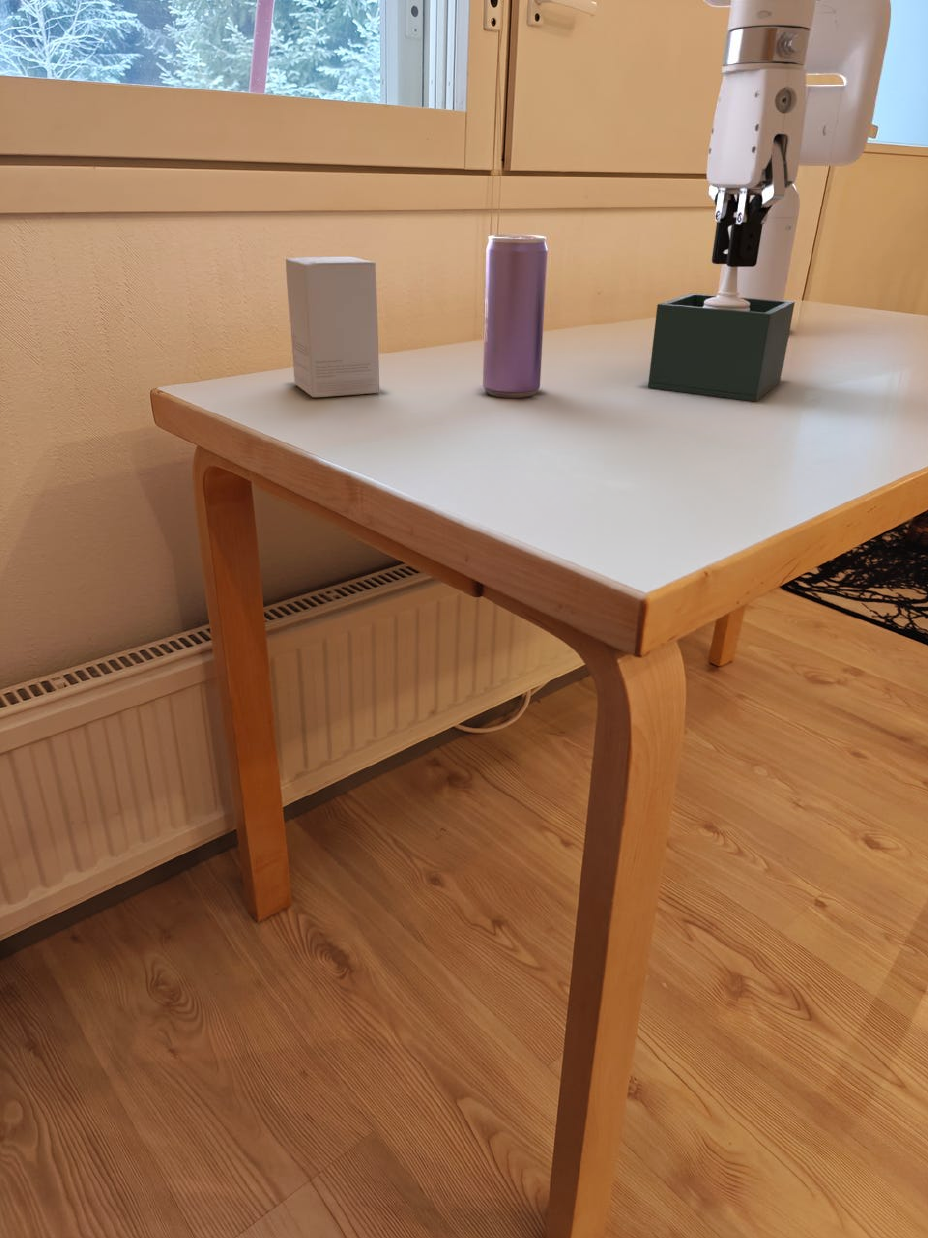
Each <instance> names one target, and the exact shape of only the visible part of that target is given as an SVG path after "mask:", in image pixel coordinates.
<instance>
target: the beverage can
mask: <svg viewBox="0 0 928 1238" xmlns="http://www.w3.org/2000/svg"><path fill="white" fill-rule="evenodd" d="M548 250H549V249H548V246H547V237H546V236H544V235H535V234H534V235H532V234H491V235H489V236H488V242H487V246H486V250H485V251H486V254H485V255H486V256H485V287H484V288H485V289H484V330H483V364H482V365H483V366H482V368H483V369H482V386H483V388H484V390H485V392H486V394H488V395H489V396H492V397H497V398H506V399H521V398H522V399H524V398H530V397H533V396H535V395H537V392H538V391H539V389H540V387H541V377H542V376H541V375H542V374H541V373H542V356H543V340H544V325H545V323H544V322H545V321H544V320H545V305H546V303H545V302H546V288H547V287H546V286H547V269H548V268H547V267H548V255H549V254H548V253H549V252H548Z"/></svg>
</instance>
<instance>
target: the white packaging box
mask: <svg viewBox="0 0 928 1238" xmlns="http://www.w3.org/2000/svg"><path fill="white" fill-rule="evenodd" d="M376 264H377V263H376V262H375V261H371V260H367V259H363V258H359V257H354V256H314V257H288V258H285V270H286V271H285V273H286V286H287V301H288V311H289V312H288V313H289V325H290V327H289V328H290V339H291V351H292V353H291V354H292V369H293V383H294V385H295V386H297V387H298V388H299V389H301V390H302V391H303V392H305V393H306V394H307V395H309V396H311V398H329V397H342V396H355V395H365V394H366V395H369V394H378V393H379V391H380V366H379V365H380V363H379V362H380V361H379V334H378V333H379V332H378V331H379V330H378V327H379V326H378V303H377V302H378V300H377V268H376V267H377V265H376Z"/></svg>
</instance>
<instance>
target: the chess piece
mask: <svg viewBox="0 0 928 1238" xmlns="http://www.w3.org/2000/svg"><path fill="white" fill-rule="evenodd" d="M734 217H737V212H735V213H734ZM736 224H738V223H737V219H736ZM731 227H732V225H730V226H729V227H728V233H729V240H730V234H731ZM724 254H728V249H727V250H725V252H724ZM737 274H738V267H729V266H727V268H726V272H725V276H724V280H723V283H722V287H721V290H720V291H719V292H718V291H717V295H718V294H719V295H718V296H717V295H715V296H716V297H712V298H709V299H707V300H705V301H704V306H703V307H706V308H717V309H729V310H740V311H750V308H749V306H750V303H749V302H748V301H746V300H744V299H741V298H739V297H738V296H737V295H739V294H740V293H738V292H737Z"/></svg>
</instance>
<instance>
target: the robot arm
mask: <svg viewBox="0 0 928 1238" xmlns="http://www.w3.org/2000/svg"><path fill="white" fill-rule="evenodd" d="M702 2H703V3H705V4H706V5H708V6H710V7H715V8H729V14H728V21H727V29H726V36H725V37H726V39H725V45H724V53H723V61H722V68H721V75H723V77H722V82H721V86H720V89H719V93H718V98H717V103H716V108H715V113H714V119H713V123H712V127H711V128H712V129H711V134H710V141H709V145H708V146H709V147H708V154H707V163H706V180H707V182H708V183H709V187H708V193H707V194H708V196H709V197H710V198H711V199H712V200H713V201H714V205H715V215H714V220H715V222H716V226H715V227H716V228H715V233H714V240H713V241H714V242H713V247H712V255H711V263H712V264H714V265H721V267H720V268H721V269H720V275H719V281H718V290H717V292H719V291H720V290H721V287H722V283H723V280H724V276H725V272H726V268H727V266H729V267H738V274H737V292H738V293H740V294H739V295H737V296H738V297H740V298H753V299H765V300H778V301H784V299H785V293H786V288H787V283H788V277H789V276H788V275H789V271H790V265H791V260H792V259H791V258H792V254H793V248H794V243H795V236H796V233H797V232H796V231H797V226H798V219H799V215H800V208H801V201H800V194H799V192H798V190H797V188H796V186H795V183H796V181H797V177H798V171H799V167H844V166H849V165H851V164H854V163H855V162H857V161H858V160H859V159H860V158H861V156H862V155H863V153H864V151H865V149H866V147H867V143H868V140H869V137H870V133H871V129H872V124H873V119H874V114H875V110H876V109H875V108H876V103H877V99H878V94H879V93H878V92H879V88H880V84H881V78H882V74H883V73H882V72H883V68H884V62H885V57H886V52H887V46H888V41H889V36H890V29H891V28H890V27H891V20H892V4H891V2H892V1H891V0H702ZM807 75H837V76H839V77H840V78H841V79H842V81H843V84H835V85H834V84H832V85H831V84H827V85H819V84H818V85H817V84H816V85H811V84H807ZM735 212H737V217H734V213H735ZM736 219H737V223H738V224H736ZM730 225H732V227H731V234H730V240H729V233H728V227H729V226H730ZM727 249H728V254H724V252H725V250H727ZM718 295H719V294H718V293H717V294H716V296H718Z"/></svg>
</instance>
